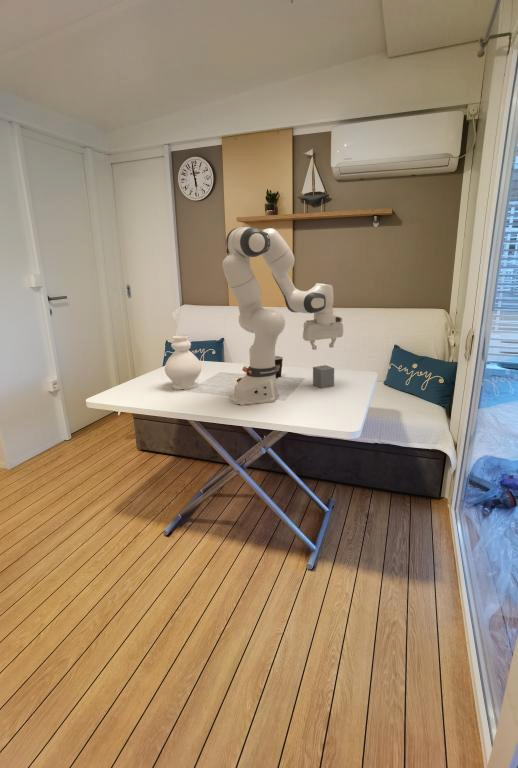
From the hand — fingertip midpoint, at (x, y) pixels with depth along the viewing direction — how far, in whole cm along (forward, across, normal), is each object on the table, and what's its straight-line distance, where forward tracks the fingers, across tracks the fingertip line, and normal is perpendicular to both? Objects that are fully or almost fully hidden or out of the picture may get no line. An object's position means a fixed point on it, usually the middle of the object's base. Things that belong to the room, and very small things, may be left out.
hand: (322, 348), depth 192 cm
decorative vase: (+19, -59, +34) cm, 70 cm away
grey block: (+18, 0, -1) cm, 18 cm away
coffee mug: (+18, -14, +27) cm, 35 cm away
